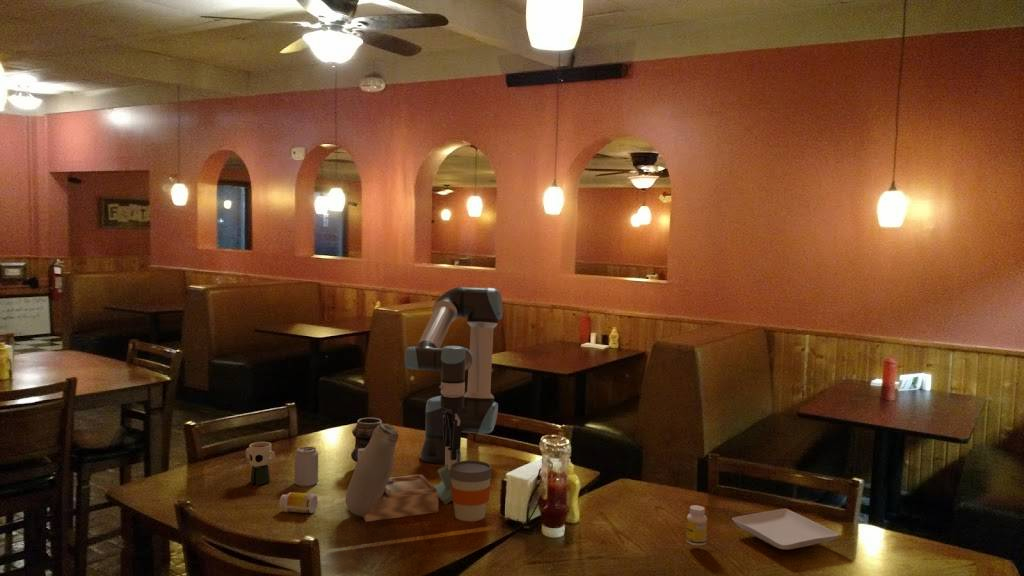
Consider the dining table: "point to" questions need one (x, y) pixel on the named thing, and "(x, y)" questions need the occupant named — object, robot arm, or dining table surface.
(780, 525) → the salad plate
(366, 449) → the brown rounded cylinder
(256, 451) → the character mug
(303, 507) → the supplement bottle
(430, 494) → the latch box
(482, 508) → the reusable coffee cup
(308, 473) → the can
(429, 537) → the dining table surface
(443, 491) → the cover
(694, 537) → the supplement bottle
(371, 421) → the apothecary jar
